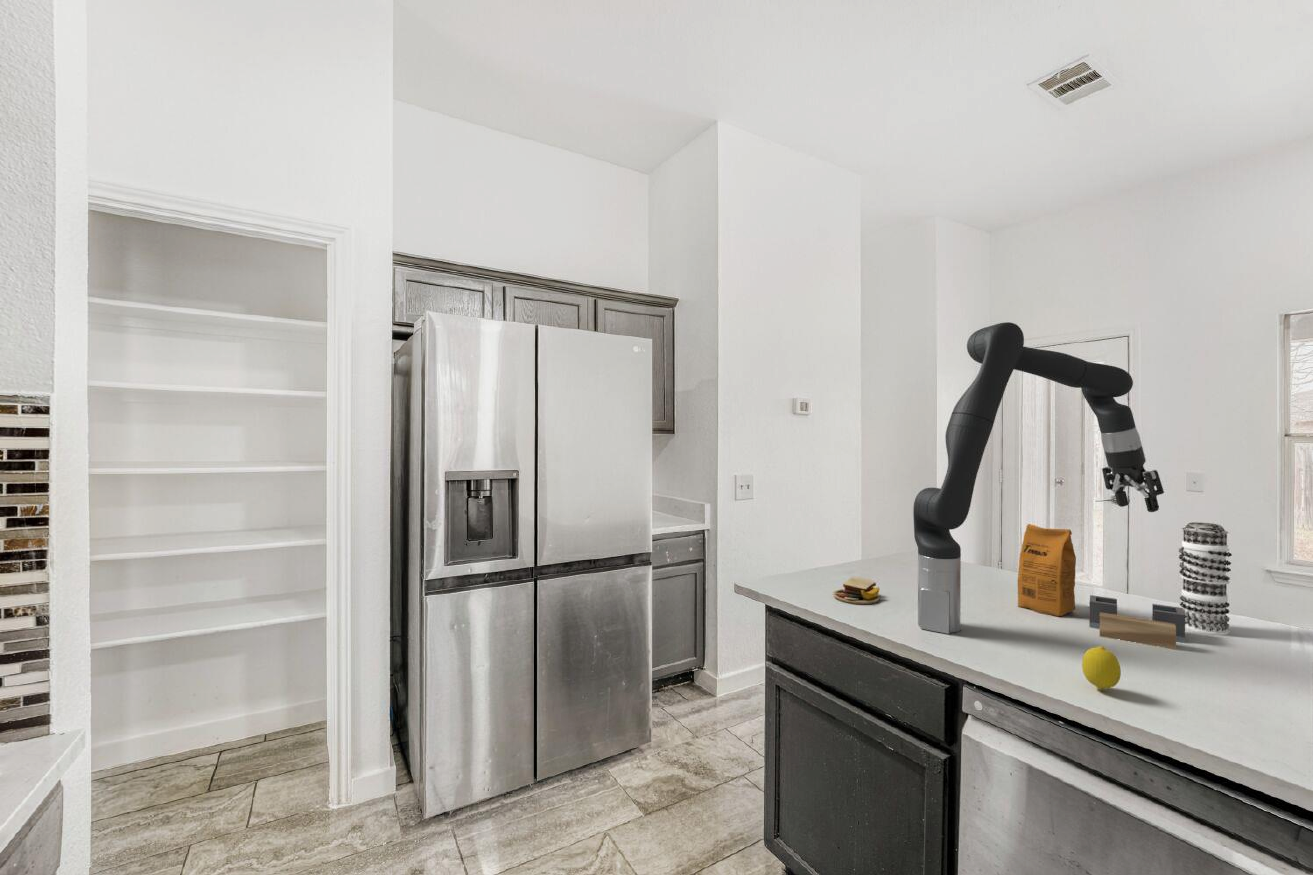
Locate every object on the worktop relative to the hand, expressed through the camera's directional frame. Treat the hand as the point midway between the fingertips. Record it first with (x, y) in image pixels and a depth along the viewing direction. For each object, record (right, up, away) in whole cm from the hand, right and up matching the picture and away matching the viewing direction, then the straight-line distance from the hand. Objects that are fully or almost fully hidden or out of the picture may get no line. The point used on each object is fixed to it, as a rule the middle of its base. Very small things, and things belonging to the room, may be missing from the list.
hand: (1138, 508), depth 145 cm
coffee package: (-19, -28, +7) cm, 34 cm away
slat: (-14, -28, -16) cm, 35 cm away
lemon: (-41, -28, -40) cm, 64 cm away
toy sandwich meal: (-65, -28, +18) cm, 73 cm away
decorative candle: (+9, -28, -8) cm, 30 cm away
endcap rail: (-8, -28, -9) cm, 30 cm away
